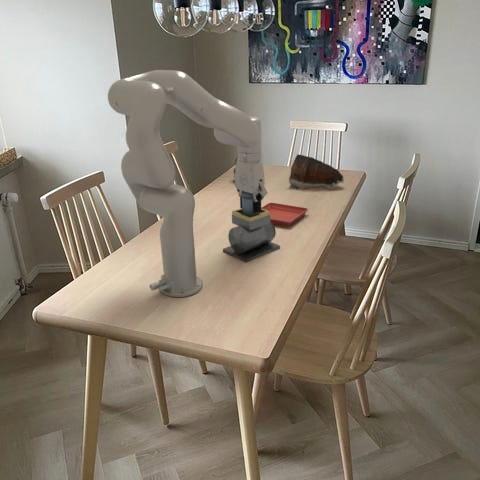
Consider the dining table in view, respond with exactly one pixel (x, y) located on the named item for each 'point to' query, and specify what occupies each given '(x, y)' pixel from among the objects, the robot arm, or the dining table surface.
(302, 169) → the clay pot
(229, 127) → the robot arm
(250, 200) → the blue rounded cylinder
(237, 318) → the dining table surface
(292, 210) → the plant saucer
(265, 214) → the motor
